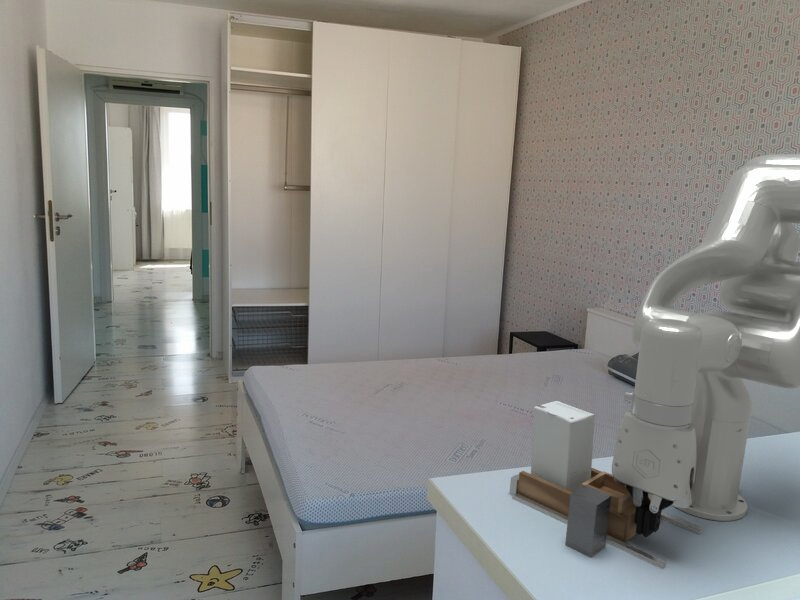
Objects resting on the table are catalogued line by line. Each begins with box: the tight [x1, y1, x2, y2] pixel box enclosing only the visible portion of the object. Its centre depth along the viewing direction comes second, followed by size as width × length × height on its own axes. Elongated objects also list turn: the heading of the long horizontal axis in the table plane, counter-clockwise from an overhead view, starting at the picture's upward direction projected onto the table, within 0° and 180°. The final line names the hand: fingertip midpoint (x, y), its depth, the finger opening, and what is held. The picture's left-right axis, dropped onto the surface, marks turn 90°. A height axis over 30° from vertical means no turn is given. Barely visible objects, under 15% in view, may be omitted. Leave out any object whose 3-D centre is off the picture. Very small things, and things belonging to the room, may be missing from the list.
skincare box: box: [530, 400, 596, 492], centre depth 103 cm, size 8×6×15 cm
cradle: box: [518, 467, 653, 543], centre depth 100 cm, size 11×18×6 cm, turn 44°
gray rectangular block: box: [565, 485, 611, 558], centre depth 89 cm, size 4×4×8 cm
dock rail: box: [509, 473, 704, 570], centre depth 98 cm, size 14×26×3 cm, turn 44°
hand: (645, 531), depth 90 cm, fingers closed
